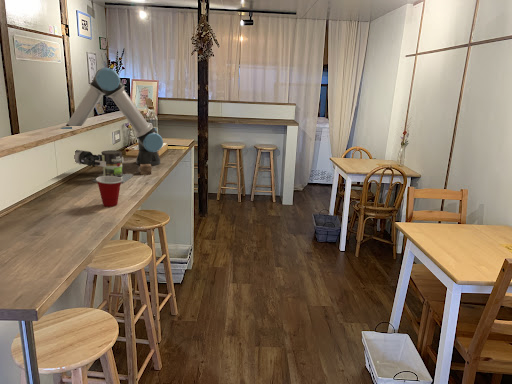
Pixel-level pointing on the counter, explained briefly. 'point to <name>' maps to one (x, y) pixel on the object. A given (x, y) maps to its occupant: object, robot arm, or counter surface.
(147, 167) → the walnut block
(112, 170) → the coffee can
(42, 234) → the counter surface
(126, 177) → the mat
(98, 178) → the plastic cup
